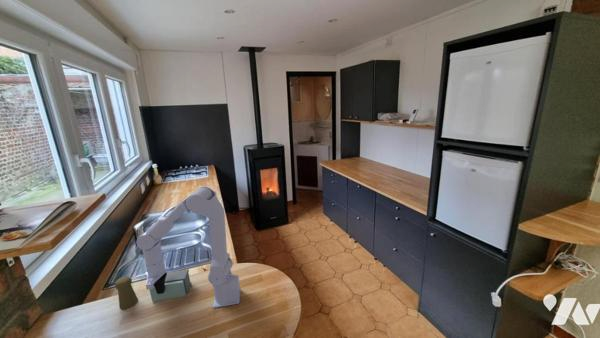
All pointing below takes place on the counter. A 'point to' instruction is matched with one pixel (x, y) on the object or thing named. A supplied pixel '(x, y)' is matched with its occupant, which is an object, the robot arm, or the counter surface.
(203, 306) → the counter surface
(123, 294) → the cork
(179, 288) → the sage green bent plank
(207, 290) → the counter surface
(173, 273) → the cupboard
